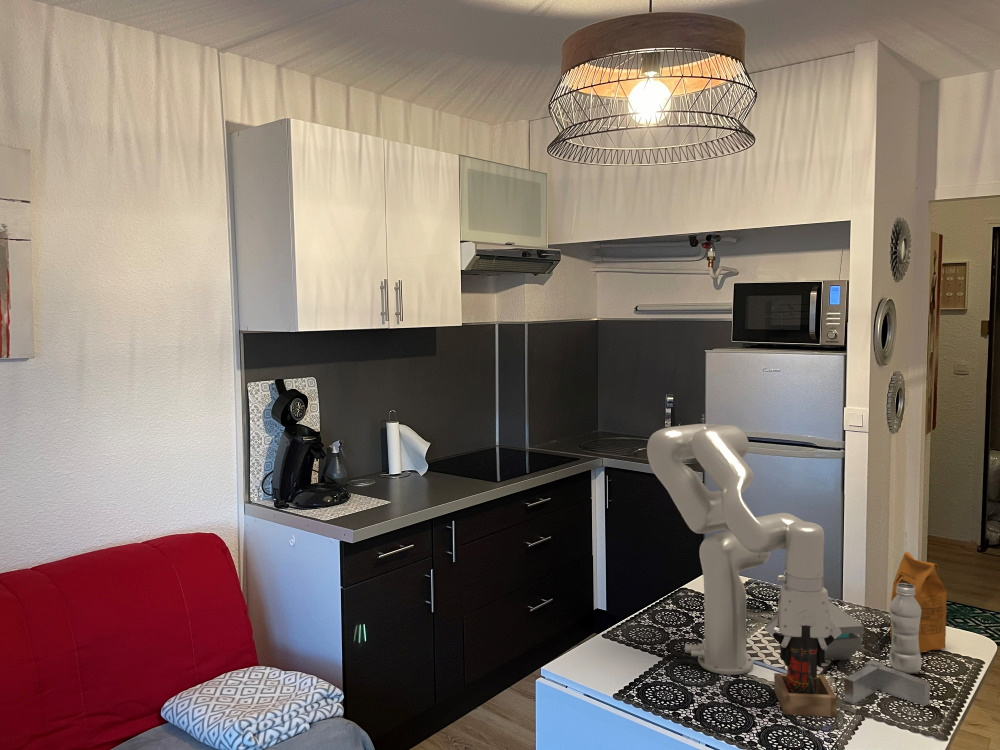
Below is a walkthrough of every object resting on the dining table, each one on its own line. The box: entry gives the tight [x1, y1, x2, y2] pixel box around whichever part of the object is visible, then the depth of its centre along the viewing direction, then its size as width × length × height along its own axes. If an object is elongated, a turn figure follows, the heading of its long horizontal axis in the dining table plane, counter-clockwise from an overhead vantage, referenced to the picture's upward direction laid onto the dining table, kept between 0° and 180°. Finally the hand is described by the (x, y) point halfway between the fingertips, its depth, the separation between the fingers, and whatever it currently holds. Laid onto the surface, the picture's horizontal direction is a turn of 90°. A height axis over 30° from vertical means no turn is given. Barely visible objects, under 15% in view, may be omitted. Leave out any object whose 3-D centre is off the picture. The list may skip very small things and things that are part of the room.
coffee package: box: [889, 551, 948, 654], centre depth 196 cm, size 10×12×22 cm
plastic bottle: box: [888, 583, 923, 675], centre depth 181 cm, size 6×7×20 cm
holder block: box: [773, 672, 838, 718], centre depth 168 cm, size 10×10×4 cm
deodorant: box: [786, 626, 818, 694], centre depth 168 cm, size 6×6×15 cm
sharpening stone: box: [825, 600, 865, 661], centre depth 194 cm, size 25×8×11 cm, turn 4°
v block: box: [843, 659, 931, 706], centre depth 172 cm, size 17×11×5 cm
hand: (802, 663), depth 168 cm, fingers closed on deodorant, 5 cm apart
